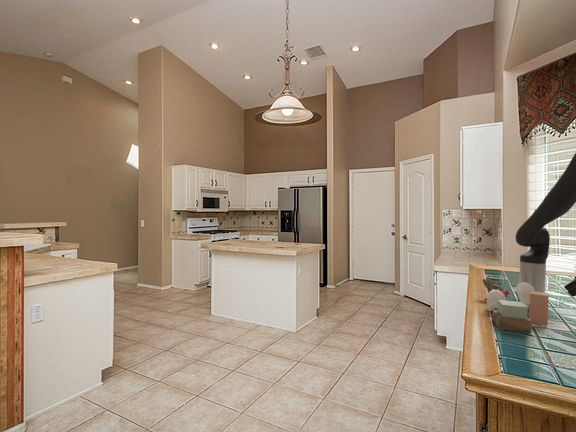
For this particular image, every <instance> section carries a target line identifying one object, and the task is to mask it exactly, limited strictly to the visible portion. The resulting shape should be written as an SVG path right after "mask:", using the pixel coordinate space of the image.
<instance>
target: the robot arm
mask: <svg viewBox="0 0 576 432" xmlns="http://www.w3.org/2000/svg"><path fill="white" fill-rule="evenodd" d="M575 204H576V152H575V153H574V155H573V156H572V158H571V160H570V162H569V164H568V165H567V167H566V168H565V170H564V172H563V173H562V174H561V176H560V177H559V178H558V179H557V182H555V184H554V186H552V188H551V189H550V190H549V192H548V193H547V194H546V196H545V197H544V198H543V200H542V201H541V203H540V204H539V205H538V206H537V208H536V209H535V210H534V212H533V213H532V214H531V215H530V216H529V217H528V218H527V219H526V220H525V222H523V223H522V224H521V225H520V227H519V228H518V229H517V231H516V234H515V242H516V244H518V245H519V246H521V247H525V248H526V247H527V248H529V250H528V251H526V252H524V253H523V254H521V255H520V256H519V277H518V278H519V281H518V282H519V283H518V284H520V283H529V284H530V285H532V286H533V288H534V290H535V292H543V293H546V276H547V275H546V273H547V271H546V268H547V267H546V266H547V259H548V257H549V251H550V243H551V242H550V240H551V239H550V238H551V237H550V233H549V231H548V229H547V228H546V227H545V226H547V225H548V224H550V223H551V222H553V221H555V220H557V219H559V218H561V217H562V216H565V214H567V213H568V212H569V211H570V210H571V208H572V207H573V206H574V205H575ZM563 288H564V289H565V290H566V291H567V293H568V294H569V295H570V296H572V297H573V298H574V297H576V276H574V278H573V280H572V281H570V282H569V283H567V284H565V285H564V286H563Z"/></svg>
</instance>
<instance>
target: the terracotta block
mask: <svg viewBox="0 0 576 432" xmlns="http://www.w3.org/2000/svg"><path fill="white" fill-rule="evenodd" d="M528 310H529V311H528V313H529V314H528V315H529V316H528V318H529V319H530V320H531V321H532V322H531V323H537V324H543V325H548V323H549V294H548V292H545V293H543V292H535V291H530V304H529V308H528Z"/></svg>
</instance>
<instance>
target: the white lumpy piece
mask: <svg viewBox="0 0 576 432" xmlns="http://www.w3.org/2000/svg"><path fill="white" fill-rule="evenodd" d="M486 299H487V300H486V306H487V308H486V310H487V311H489V312H493V310H496V309H497V305H498V300H506V301H507V297H506V298H505V296H504V294H503V293H502V292H501V291H499V290H492V291H490V292H489V291H488V293H487V294H486Z"/></svg>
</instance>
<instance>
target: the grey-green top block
mask: <svg viewBox="0 0 576 432" xmlns="http://www.w3.org/2000/svg"><path fill="white" fill-rule="evenodd" d="M496 310H497V311H498V312H499V313H500V315H501V316H502V317H510V318H519V319H527V317H528V310H529V307H526V306H525V305H524V304H523V303H522V302H520V301H513V300H507V299H506V300H498V305H497V308H496Z"/></svg>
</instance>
